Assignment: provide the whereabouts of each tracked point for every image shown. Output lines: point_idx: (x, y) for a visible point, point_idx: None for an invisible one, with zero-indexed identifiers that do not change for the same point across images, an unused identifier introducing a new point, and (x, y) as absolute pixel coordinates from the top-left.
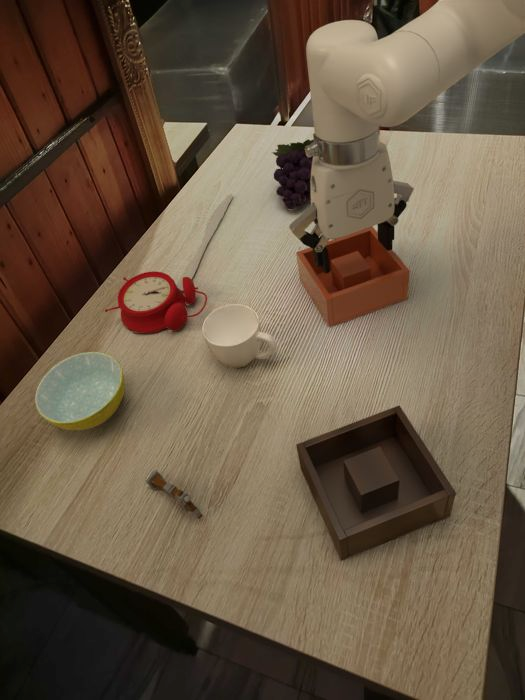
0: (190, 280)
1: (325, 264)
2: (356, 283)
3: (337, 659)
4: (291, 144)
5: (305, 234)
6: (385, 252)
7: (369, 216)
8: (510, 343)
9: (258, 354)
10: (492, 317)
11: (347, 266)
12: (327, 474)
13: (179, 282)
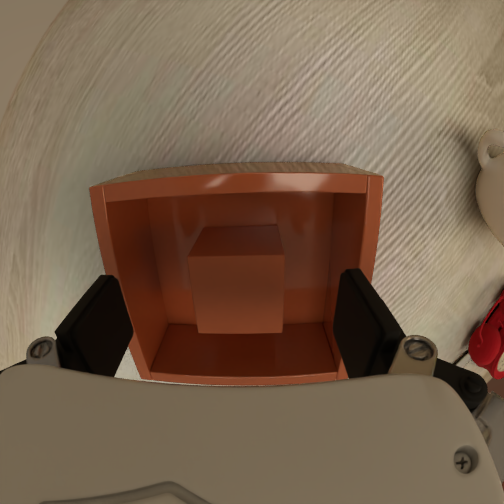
0: (486, 357)
1: (372, 289)
2: (240, 240)
3: None
4: None
5: (475, 413)
6: (130, 294)
7: (95, 457)
8: (52, 26)
9: (489, 159)
10: (40, 82)
11: (250, 292)
12: None
13: (464, 365)
